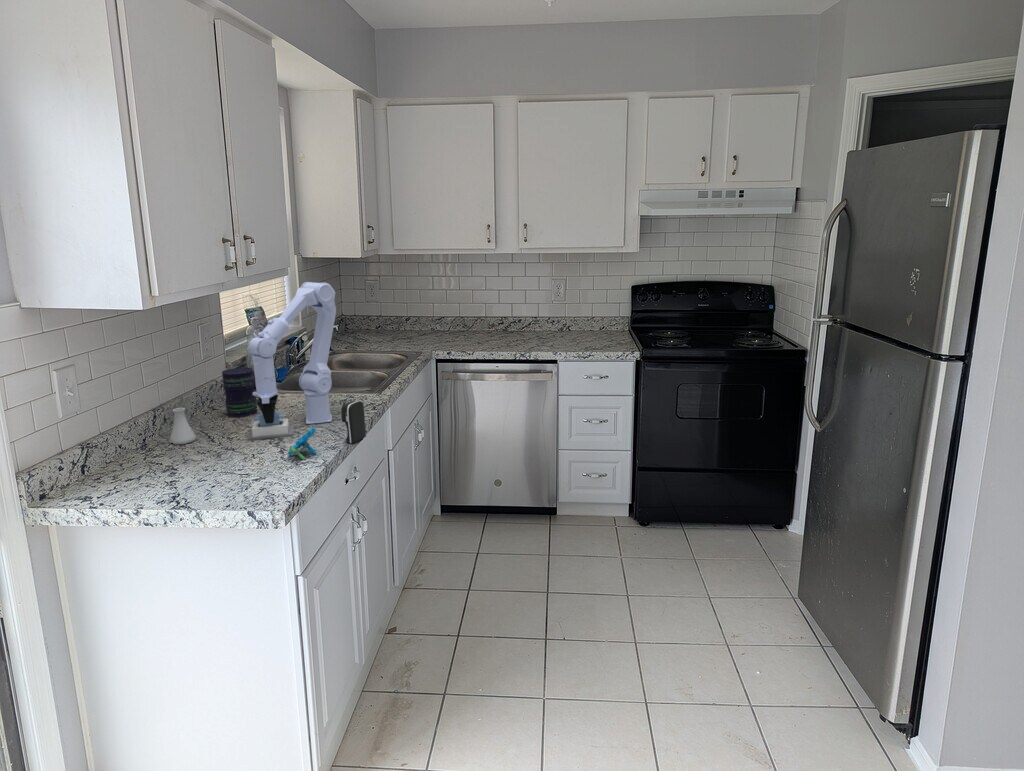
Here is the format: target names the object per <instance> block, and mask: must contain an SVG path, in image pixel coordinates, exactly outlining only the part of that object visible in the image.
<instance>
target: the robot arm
mask: <svg viewBox="0 0 1024 771" xmlns="http://www.w3.org/2000/svg"><path fill="white" fill-rule="evenodd" d="M335 297H336V291H335V290H334V288H333V287H332V285H331V284H329V283H328V282H312V281H305V282H303V283H302V285H301V286H300V287H299V288H298V289H297V290H296V293H295V296H294V297H293V298H292V299H291V301H290V302H289V304H288V305H287V306H286V307H285V309H284V310H283V312H282V313H281V314H280V315H279V316H278V317H273V318H272V319H269V320H268V321H267V325H266V326H265V327H264V328H263V329H262V331H260V332H259V333H258V334H257V335H258V336H255V337H253V338H251V340H250V341H249V344H248V347H247V352H248V353H249V355H250V356H251V358H252V364H253V375H254V383H255V388H256V391H255V392H253V396H256V397H257V398H258V400H256V401H257V407H259V409H260V411H261V412H262V414H263V417H264V420H265V422H266V424H267V423H273V421H274V411H276V405H277V402H278V397H279V395H278V393H279V392H278V389H277V381H276V380H277V379H276V371H275V361H274V354H276V352H277V346H278V344H279V343H280V342H281V340H282V339H283V338H284V337H285V336H286V335H287V333H288V332H289V331H290V326H289V325H290V324H291V323H292V322H293V321H294V320H295V318H297V316H298V315H299V314H300V313H301V312H302V311H304V309H305V308H307V307H312V308H313V310H314V311H315V312H316V313H317V317H316V321H315V322H316V323H315V327H314V333H313V338H312V345H311V350H310V356H309V362H308V363H307V364H306V365H304V367H303V370H302V373H301V375H300V376H299V379H298V385H299V387H300V388H301V390H303V393H304V401H305V402H304V403H305V411H306V415H305V416H306V418H305V424H306V425H309V424H310V425H312V424H321V423H331V422H332V421H333V417H332V415H333V414H332V413H331V411H330V409H331V408H330V399H329V394H330V390H331V388H332V385H333V384H332V383H333V381H332V370H331V369H330V367H329V366H328V360H329V354H330V349H331V343H332V338H333V333H334V332H333V331H334V328H335V327H334V326H335V320H336V316H337V306H336V302H335Z"/></svg>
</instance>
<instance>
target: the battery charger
mask: <svg viewBox="0 0 1024 771" xmlns="http://www.w3.org/2000/svg"><path fill="white" fill-rule="evenodd" d="M340 410H341V411H340V412H341V422H342V423H344V424H345V426H346V430H347V431H346V432H347V437H346V439H345V442H346V443H349V444H354V443H357V442H360V441H361V440H363V439H364V438H366V437H367V434H366V420H365V408H364V403H363V402H362V401H361V400H352V401H349V402H346V403H345V404H343V405H342V406H341V409H340Z"/></svg>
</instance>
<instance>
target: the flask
mask: <svg viewBox="0 0 1024 771" xmlns="http://www.w3.org/2000/svg"><path fill="white" fill-rule="evenodd" d="M185 410H186V408H185V407H177V408H173V409H172V411H171V412H172V413H173V415H174V416H173V417H174V418H173V420H174V421H173V425H172V430H171V434H170V437H169V442H170V443H169V442H168V443H169V444H171V443H173V444H172V445H186V444H189V443H192V442H195V441H196V440H197V439H198V437H197V436H196V434H195V432H194V431H193V429H192V427H191V426H190V423H189V422H188V420H187V416H186V412H185Z"/></svg>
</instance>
